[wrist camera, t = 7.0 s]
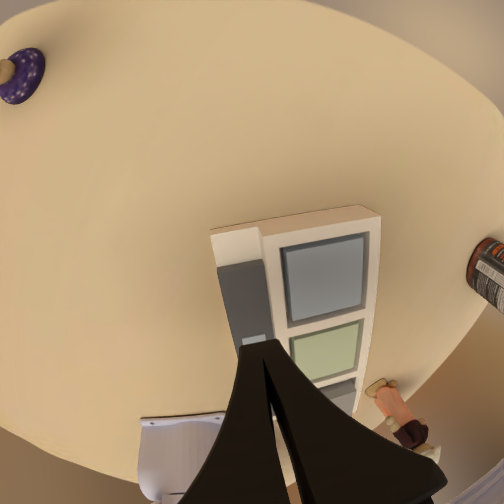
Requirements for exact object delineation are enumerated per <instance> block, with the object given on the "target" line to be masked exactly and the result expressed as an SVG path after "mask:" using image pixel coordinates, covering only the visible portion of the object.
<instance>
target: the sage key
mask: <svg viewBox="0 0 504 504" xmlns="http://www.w3.org/2000/svg"><path fill="white" fill-rule="evenodd" d="M358 325H359V323H358V322H357V320H355V321H352V322H348V323H345V324H341V325H337V326H334V327H330V328H326V329H322V330H318V331H314V332H310V333H306V334H302V335H298V336H294V337H290V344H291V356H292V360H293V361H294V363H295V364H296V365H297V366H298V368H299V369H300V370H301V371H302V372H303V373H304V374H305V376H306V377H307V378H308V379H309V380H313V379H317V378H320V377H324V376H327V375H331V374H334V373H338V372H341V371H344V370H347V369H350V368H353V366H354V359H355V351H356V343H357V335H358Z"/></svg>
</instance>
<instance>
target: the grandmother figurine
mask: <svg viewBox="0 0 504 504" xmlns="http://www.w3.org/2000/svg"><path fill="white" fill-rule="evenodd" d="M386 384H387V382H386V380H385V379H381V380H379V381H377V382H376V383H375V384H373V385H372V386H370V387H369V388H368V389H367V390H366V392H365V394H366V395H367V396H369V397H375V396H376V397H377V398H376V399H375V404H376V405H377V407H378V408H379V409H380V410H381V412H382V413H383V414H384V416H385V417H386V419H385V422H386V424H388V425H389V428H390V430H391V431H392V433H393V435H394V436H395V437H396V438H397V439H398V440H399V442H400V443H401V445H402V446H403V447H404V448H408V449H411V450H412V451H413V452H415V453H418V454H421V455H423V456H426V457H429V458H431V459H433V460H434V462H435V463H436V464H438V461H439V458H440V451H441V446H440V445H436V446H435V447H432V446H431V445H429V444H426V443H425V441H426V439H427V437H428V427H427V425H426V424H425V423H424V419H423V418H420V419H418V420H416V419H415V418H414V417H413V416H412V414H411V413H410V411H409V409H408V407H407V406H406V405H405V403H404V401H403V399H402V398H401V396H400V394H399V392H398V390H397V389H396V386H397V381H391V382H389V383H388V384H387V385H386Z"/></svg>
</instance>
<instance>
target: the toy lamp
mask: <svg viewBox="0 0 504 504" xmlns="http://www.w3.org/2000/svg"><path fill="white" fill-rule="evenodd" d="M44 62H45V61H44V57H43V55H42V53H41V52H40V51H39V50H38V49H36V48H25V49H22V50H19V51H17V52H16V53H14V54H13V55H11V56H10V57H9V58H8V59H7V60H6V59H2V60H0V97H1V98H2V99H3V100H4V101H5V102H7V103H9V104H14V105H15V104H20V103H22V102H24V101H25V100H26V99H27V98H29V97H30V96H31V95H32V93H33V92H34V91H35V89H36V88H37V86H38V84H39V82H40V80H41V78H42V75H43V71H44Z"/></svg>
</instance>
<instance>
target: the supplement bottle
mask: <svg viewBox="0 0 504 504" xmlns="http://www.w3.org/2000/svg"><path fill="white" fill-rule="evenodd" d="M467 278H468V283H469V286H470V287H471V288H472V289H474V290H475V291H476V292H477V293H478V294H480V295H481V296H482V297H483V298H484V299H486V300H487V301H488V302H489V303H491V304H492V305H493V306H495V307H496V308H497V309H498V310H499V311H500V312H501V313H503V314H504V244H502V243H500V242H499V241H496V240H494V239H486V240H485V241H483V242H482V243H481V244H480V245H479V246H478V248H477V249H476V251H475V252H474V254H473V256H472V259H471V261H470V264H469V267H468V273H467Z"/></svg>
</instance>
